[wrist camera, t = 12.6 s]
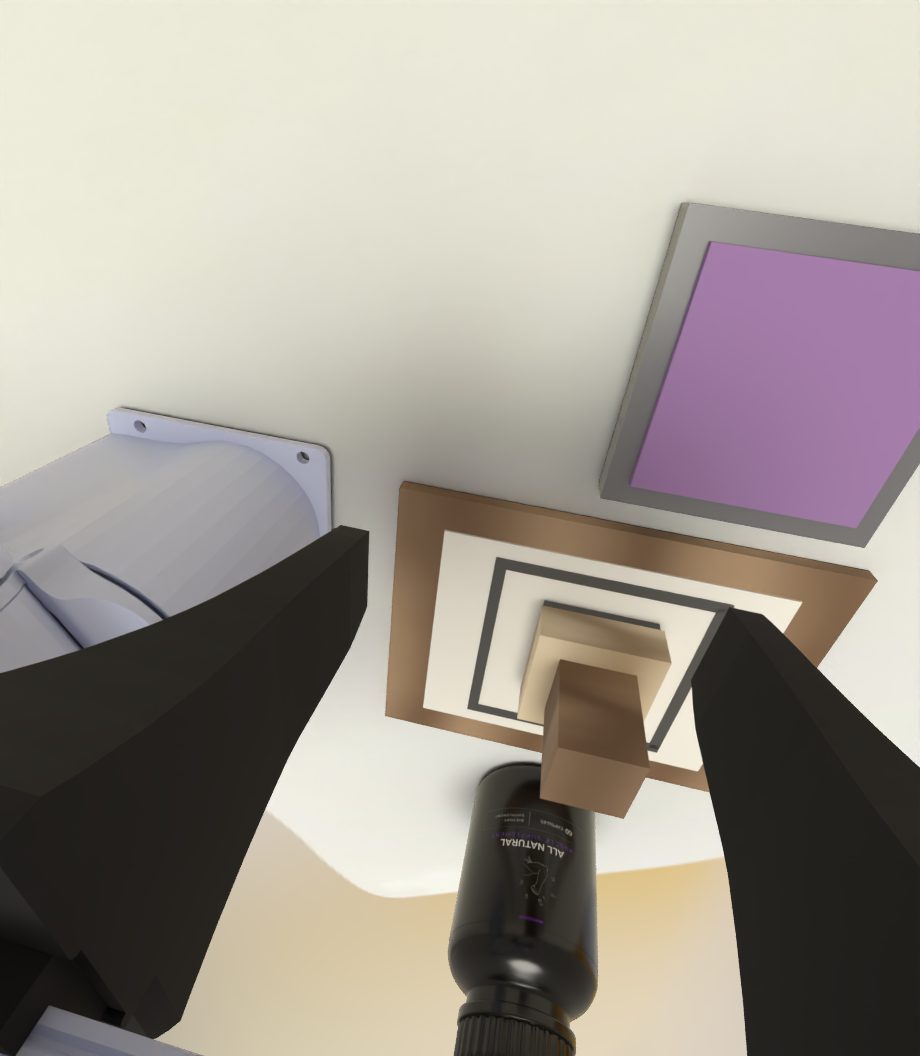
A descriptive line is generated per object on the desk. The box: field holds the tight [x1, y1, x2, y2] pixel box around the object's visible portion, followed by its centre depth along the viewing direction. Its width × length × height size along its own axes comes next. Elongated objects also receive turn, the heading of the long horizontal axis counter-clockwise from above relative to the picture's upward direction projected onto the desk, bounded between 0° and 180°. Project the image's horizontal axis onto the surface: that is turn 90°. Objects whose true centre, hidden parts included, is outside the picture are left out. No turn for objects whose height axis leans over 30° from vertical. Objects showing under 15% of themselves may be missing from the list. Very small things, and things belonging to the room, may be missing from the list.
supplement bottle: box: [448, 765, 598, 1056], centre depth 25 cm, size 7×7×12 cm
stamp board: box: [385, 481, 878, 792], centre depth 24 cm, size 18×14×1 cm
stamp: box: [517, 600, 672, 819], centre depth 20 cm, size 5×5×6 cm
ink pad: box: [599, 203, 920, 548], centre depth 16 cm, size 9×9×2 cm
